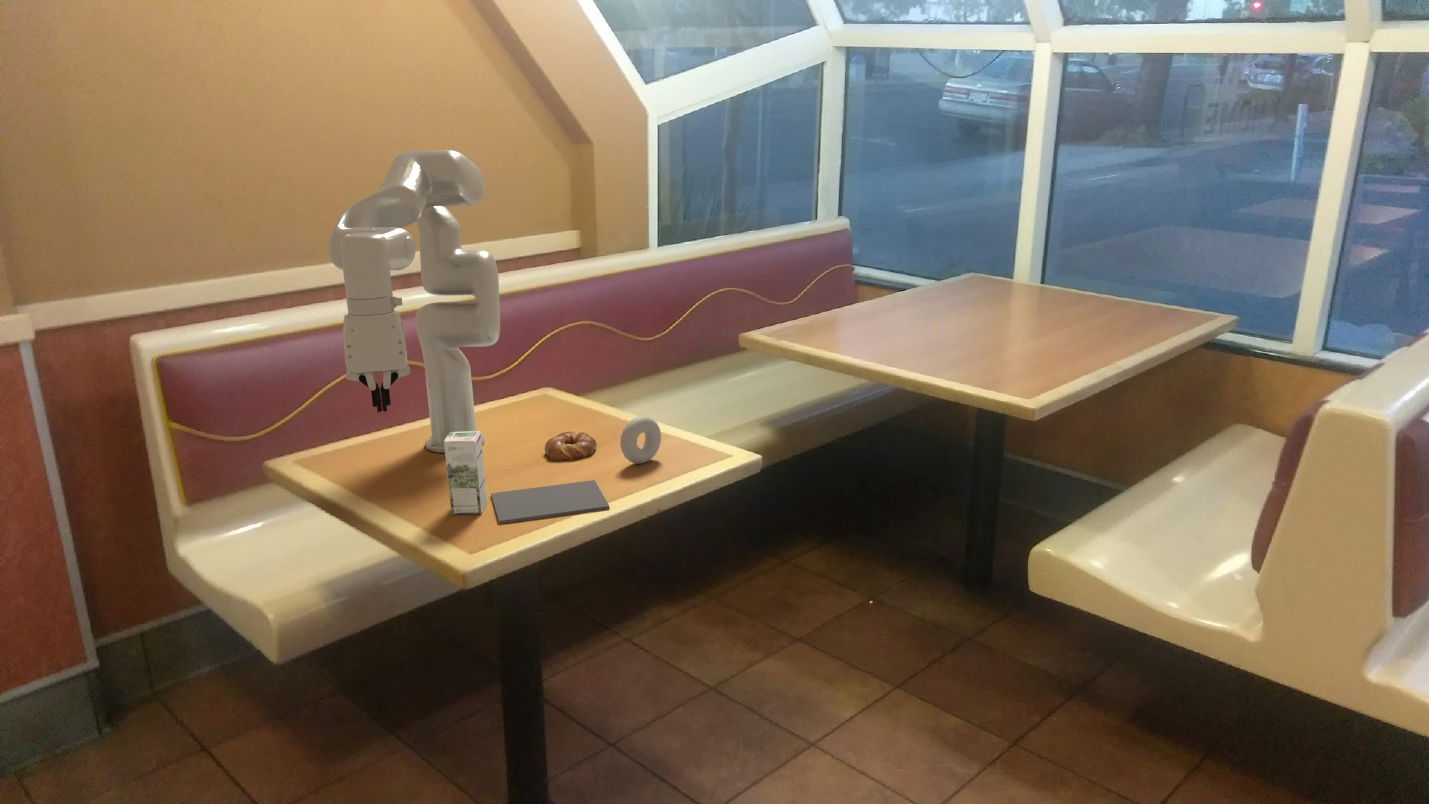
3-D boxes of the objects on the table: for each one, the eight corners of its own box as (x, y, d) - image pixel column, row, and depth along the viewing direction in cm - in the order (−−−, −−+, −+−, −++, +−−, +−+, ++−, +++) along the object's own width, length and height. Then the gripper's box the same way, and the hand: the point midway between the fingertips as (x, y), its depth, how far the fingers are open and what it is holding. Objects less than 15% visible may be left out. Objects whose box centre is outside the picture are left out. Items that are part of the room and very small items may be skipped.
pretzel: (573, 466, 209) (572, 449, 208) (532, 458, 214) (531, 441, 213) (607, 448, 219) (606, 432, 217) (567, 441, 224) (566, 425, 223)
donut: (654, 454, 213) (652, 409, 211) (665, 458, 211) (663, 412, 208) (617, 467, 207) (615, 420, 204) (628, 471, 204) (626, 424, 202)
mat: (491, 496, 193) (491, 493, 192) (594, 482, 198) (594, 480, 198) (499, 524, 180) (499, 520, 180) (609, 508, 186) (609, 505, 185)
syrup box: (487, 502, 190) (481, 429, 186) (482, 515, 184) (475, 439, 180) (457, 503, 190) (450, 430, 185) (450, 515, 184) (442, 440, 180)
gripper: (415, 299, 177) (425, 400, 182) (325, 306, 173) (338, 408, 178) (417, 307, 170) (427, 411, 175) (322, 313, 166) (336, 420, 171)
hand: (382, 409), depth 177 cm, fingers closed
